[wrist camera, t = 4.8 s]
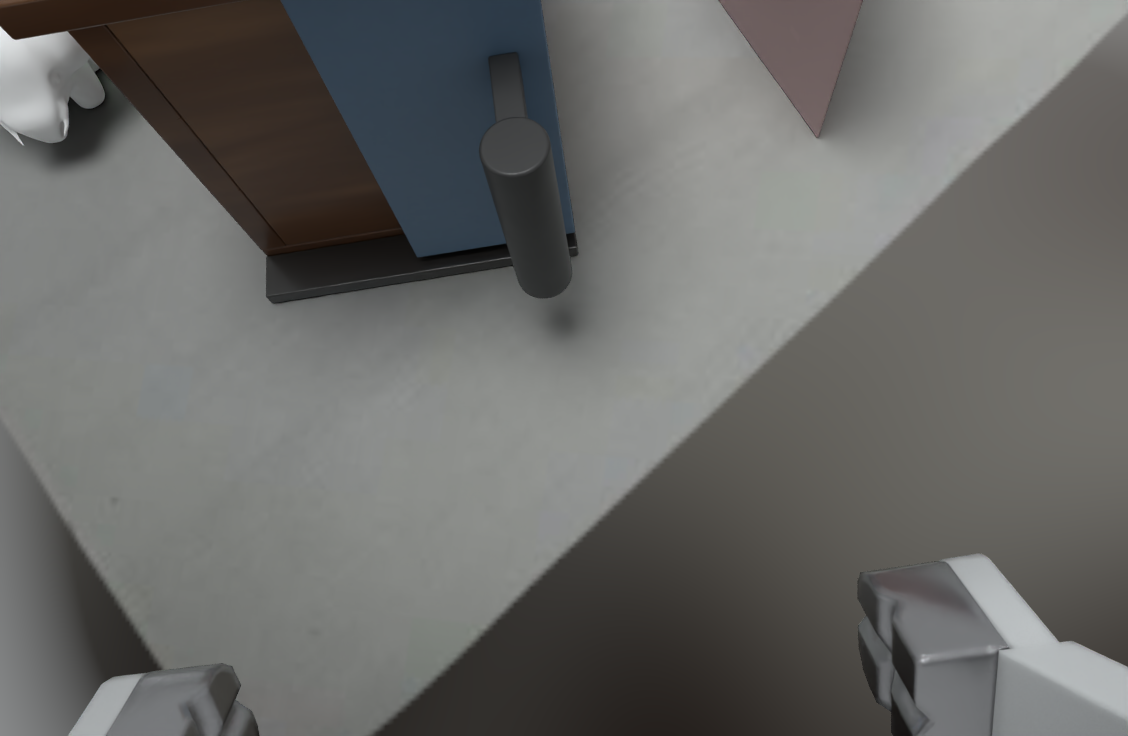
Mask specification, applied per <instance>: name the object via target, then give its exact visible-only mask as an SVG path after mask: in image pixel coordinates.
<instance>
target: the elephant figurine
mask: <svg viewBox="0 0 1128 736" xmlns="http://www.w3.org/2000/svg"><path fill="white" fill-rule="evenodd" d="M98 69H99V66H98V65H97V64H96V63H95V62H94V61H93V60H92V59H91V57H90V56H89V55H88V54H87V53H86V52H85V51H84V50H83V48H82V47H81V46H80V45H79V44H78V43H77V42H76V40H75V39H74V38H73V37H72V36H71V35H70V34H69V33H68V31H66V32H60V33H55V34H49V35H43V36H37V37H31V38H25V39H20V40H14V39H12V38H11V37H10V36H9V35H8V34H7V33H6V32H5V31H4V30H3V29H2V28H1V27H0V124H1V125H2V126H3V127H4V128H5V129H6V130H7V131H9V132H10V133H11V134H12V135H13V136H14V137H15V138H16V139H17V140H18V141H19V142H20V143H21V144H22V145H23V143H22V141H21V140H20V138H19V136H18V135H17V132H18V133H20V134H23V135H25V136H28V137H30V138H33V139H36V140H39V141H43V142H46V143H56V142H60V141H62V140H64V139H65V138H66V136H67V130H68V127H69V116H68V115H69V114H68V113H69V110H68V100H69V97H71V98H72V99H73V100H74V101H75V102H76V103H77V104H78V105H80V106H81V107H83V108H86V109H89V108H94V107H97V106H98V105H100V104H101V103H102V102H103V100H104V98H105V92H104V89H103V87H102V84H101V82H100V81H99V79H98V77H97V76H96V74H95V71H97V70H98ZM23 146H24V145H23Z"/></svg>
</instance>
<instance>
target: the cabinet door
mask: <svg viewBox="0 0 1128 736" xmlns="http://www.w3.org/2000/svg"><path fill="white" fill-rule="evenodd" d="M280 1H281V3H282V4H283V6H284V8H285V10H286V12H287V14H288V16H289V18H290V19H291V21H292V23H293V25H294V27H295V29H296V31H297V33H298V34H299V36H300V38H301V40H302V42H303V44H304V46H305V48H306V49H307V51H308V53H309V55H310V57H311V59H312V61H313V63H314V64H315V66H316V68H317V70H318V72H319V74H320V76H321V78H322V79H323V81H324V83H325V85H326V87H327V89H328V91H329V93H330V94H331V96H332V98H333V100H334V102H335V104H336V106H337V108H338V109H339V111H340V113H341V115H342V117H343V119H344V121H345V123H346V125H347V126H348V128H349V130H350V132H351V134H352V136H353V138H354V140H355V141H356V143H357V145H358V147H359V149H360V151H361V153H362V155H363V156H364V158H365V160H366V162H367V164H368V166H369V168H370V170H371V171H372V173H373V175H374V177H375V179H376V181H377V183H378V185H379V186H380V188H381V190H382V192H383V194H384V196H385V198H386V200H387V201H388V203H389V205H390V207H391V209H392V211H393V213H394V215H395V216H396V218H397V220H398V222H399V224H400V226H401V228H402V230H403V231H404V233H405V235H406V237H407V239H408V241H409V243H410V245H411V246H412V248H413V250H414V252H415V254H416V256H417V257H424V256H430V255H437V254H443V253H449V252H456V251H462V250H468V249H474V248H481V247H487V246H493V245H500V244H506V243H507V247H508V250H509V253H510V256H511V260H512V263H513V266H514V269H515V272H516V276H517V279H518V282H519V284H520V286H521V288H522V289H523V290H524V291H525V292H526V293H527V294H529V295H531V296H533V297H536V298H551V297H554V296H556V295H558V294H560V293H561V292H563V291H564V290H565V289H566V288H567V286H568V285H569V283H570V281H571V277H572V267H571V261H570V255H569V249H568V243H567V237H566V234H569V233H574V232H575V227H574V221H573V214H572V207H571V200H570V194H569V187H568V180H567V173H566V167H565V160H564V153H563V146H562V140H561V133H560V126H559V119H558V113H557V106H556V99H555V92H554V85H553V79H552V72H551V65H550V58H549V52H548V45H547V38H546V31H545V25H544V18H543V11H542V4H541V0H280Z"/></svg>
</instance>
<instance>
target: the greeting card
mask: <svg viewBox="0 0 1128 736" xmlns="http://www.w3.org/2000/svg"><path fill="white" fill-rule="evenodd" d="M719 1H720V3H721V4H722V5H723V7H724V8H725V10H726V11H727V12H728V14H729V15H730V17H731V18H732V19H733V21H734V22H735V24H736V25H737V26H738V28H739V29H740V31H741V32H742V33H743V35H744V36H745V37H746V39H747V40H748V42H749V43H750V44H751V46H752V47H753V49H754V50H755V51H756V53H757V54H758V56H759V57H760V58H761V60H762V61H763V63H764V64H765V65H766V67H767V68H768V70H769V71H770V72H771V74H772V75H773V77H774V78H775V79H776V81H777V82H778V84H779V85H780V86H781V88H782V89H783V91H784V92H785V93H786V95H787V96H788V98H789V99H790V100H791V102H792V103H793V105H794V106H795V107H796V109H797V110H798V111H799V113H800V114H801V116H802V117H803V118H804V120H805V121H806V123H807V124H808V125H809V127H810V128H811V130H812V131H813V132H814V134H815V135H816V137H817V138H818V137H819V134H820V131H821V128H822V125H823V122H824V119H825V116H826V112H827V109H828V106H829V103H830V100H831V97H832V94H833V91H834V88H835V85H836V82H837V79H838V76H839V73H840V69H841V66H842V63H843V60H844V57H845V54H846V51H847V48H848V45H849V42H850V39H851V36H852V33H853V30H854V27H855V23H856V20H857V17H858V14H859V11H860V8H861V5H862V2H863V0H719Z"/></svg>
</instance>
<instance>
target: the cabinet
mask: <svg viewBox="0 0 1128 736" xmlns="http://www.w3.org/2000/svg"><path fill="white" fill-rule="evenodd" d="M0 27H1V28H2V29H3V30H4V31H5V32H6V33H7V34H8V35H9V36H10V37H11V38H12V39H14V40H20V39H25V38H31V37H37V36H43V35H49V34H55V33H60V32H66V31H68V33H69V34H70V35H71V36H72V37H73V38H74V39H75V40H76V42H77V43H78V44H79V45H80V46H81V47H82V48H83V50H84V51H85V52H86V53H87V54H88V55H89V56H90V57H91V59H92V60H93V61H94V62H95V63H96V64H97V65H98V66H99V68H100V69H101V70H102V71H103V72H104V73H105V74H106V75H107V77H108V78H109V79H110V80H111V81H112V82H113V83H114V84H115V86H116V87H117V88H118V89H119V90H120V91H121V92H122V93H123V95H124V96H125V97H126V98H127V99H128V100H129V101H130V102H131V104H132V105H133V106H134V107H135V108H136V109H137V110H138V111H139V113H140V114H141V115H142V116H143V117H144V118H145V119H146V120H147V122H148V123H149V124H150V125H151V126H152V127H153V128H154V129H155V131H156V132H157V133H158V134H159V135H160V136H161V137H162V138H163V140H164V141H165V142H166V143H167V144H168V145H169V146H170V147H171V149H172V150H173V151H174V152H175V153H176V154H177V155H178V156H179V158H180V159H181V160H182V161H183V162H184V163H185V164H186V165H187V167H188V168H189V169H190V170H191V171H192V172H193V173H194V175H195V176H196V177H197V178H198V179H199V180H200V181H201V182H202V184H203V185H204V186H205V187H206V188H207V189H208V190H209V191H210V193H211V194H212V195H213V196H214V197H215V198H216V199H217V200H218V202H219V203H220V204H221V205H222V206H223V207H224V208H225V209H226V211H227V212H228V213H229V214H230V215H231V216H232V217H233V218H234V220H235V221H236V222H237V223H238V224H239V225H240V226H241V227H242V229H243V230H244V231H245V232H246V233H247V234H248V235H249V236H250V238H251V239H252V240H253V241H254V242H255V243H256V244H257V245H258V247H259V248H260V249H261V250H263V252H264V253H265V254H266V255H267V257H266V297H267V298H268V299H269V300H270V301H271V302H272V303H277V302H283V301H290V300H296V299H302V298H308V297H315V296H321V295H327V294H334V293H340V292H346V291H353V290H359V289H365V288H372V287H378V286H384V285H391V284H397V283H403V282H410V281H416V280H422V279H429V278H435V277H441V276H448V275H454V274H460V273H466V272H473V271H479V270H485V269H492V268H498V267H504V266H511V265H513V263H512V260H511V256H510V253H509V250H508V247H507V243H506V244H500V245H493V246H487V247H481V248H474V249H468V250H462V251H456V252H449V253H443V254H437V255H430V256H424V257H417V256H416V254H415V252H414V250H413V248H412V246H411V245H410V243H409V241H408V239H407V237H406V235H405V233H404V231H403V230H402V228H401V226H400V224H399V222H398V220H397V218H396V216H395V215H394V213H393V211H392V209H391V207H390V205H389V203H388V201H387V200H386V198H385V196H384V194H383V192H382V190H381V188H380V186H379V185H378V183H377V181H376V179H375V177H374V175H373V173H372V171H371V170H370V168H369V166H368V164H367V162H366V160H365V158H364V156H363V155H362V153H361V151H360V149H359V147H358V145H357V143H356V141H355V140H354V138H353V136H352V134H351V132H350V130H349V128H348V126H347V125H346V123H345V121H344V119H343V117H342V115H341V113H340V111H339V109H338V108H337V106H336V104H335V102H334V100H333V98H332V96H331V94H330V93H329V91H328V89H327V87H326V85H325V83H324V81H323V79H322V78H321V76H320V74H319V72H318V70H317V68H316V66H315V64H314V63H313V61H312V59H311V57H310V55H309V53H308V51H307V49H306V48H305V46H304V44H303V42H302V40H301V38H300V36H299V34H298V33H297V31H296V29H295V27H294V25H293V23H292V21H291V19H290V18H289V16H288V14H287V12H286V10H285V8H284V6H283V4H282V3H281V1H280V0H0ZM566 237H567V243H568V249H569V255H570V256H574V255H578V247H577V241H576V234H575V232H574V233H569V234H566Z"/></svg>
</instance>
